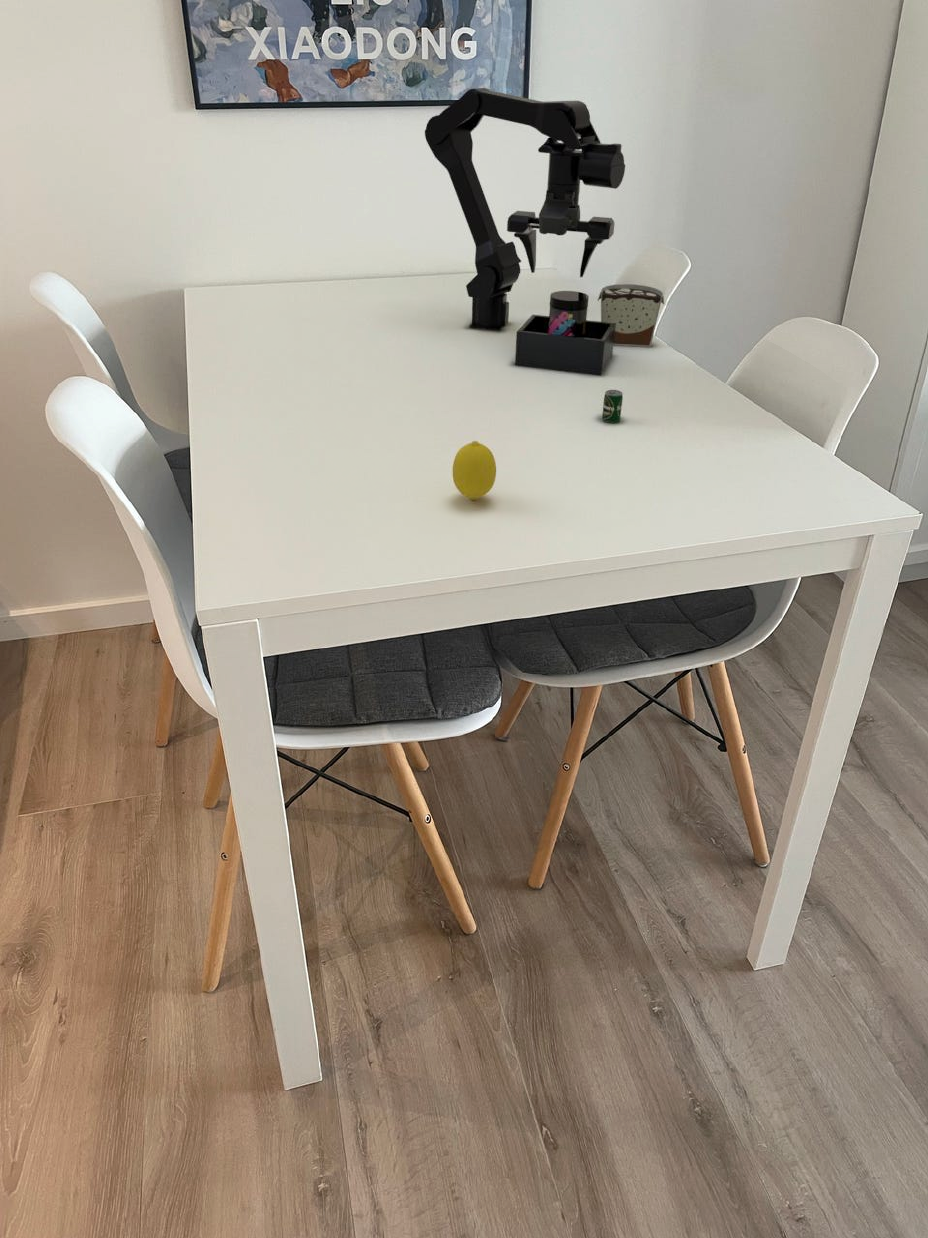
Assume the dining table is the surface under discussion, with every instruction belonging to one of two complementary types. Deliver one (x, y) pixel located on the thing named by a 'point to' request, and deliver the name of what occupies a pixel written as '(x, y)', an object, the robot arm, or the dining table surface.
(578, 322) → the supplement container
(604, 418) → the beer can
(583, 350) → the basin
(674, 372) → the dining table surface
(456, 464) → the lemon
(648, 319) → the food container
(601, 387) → the dining table surface
